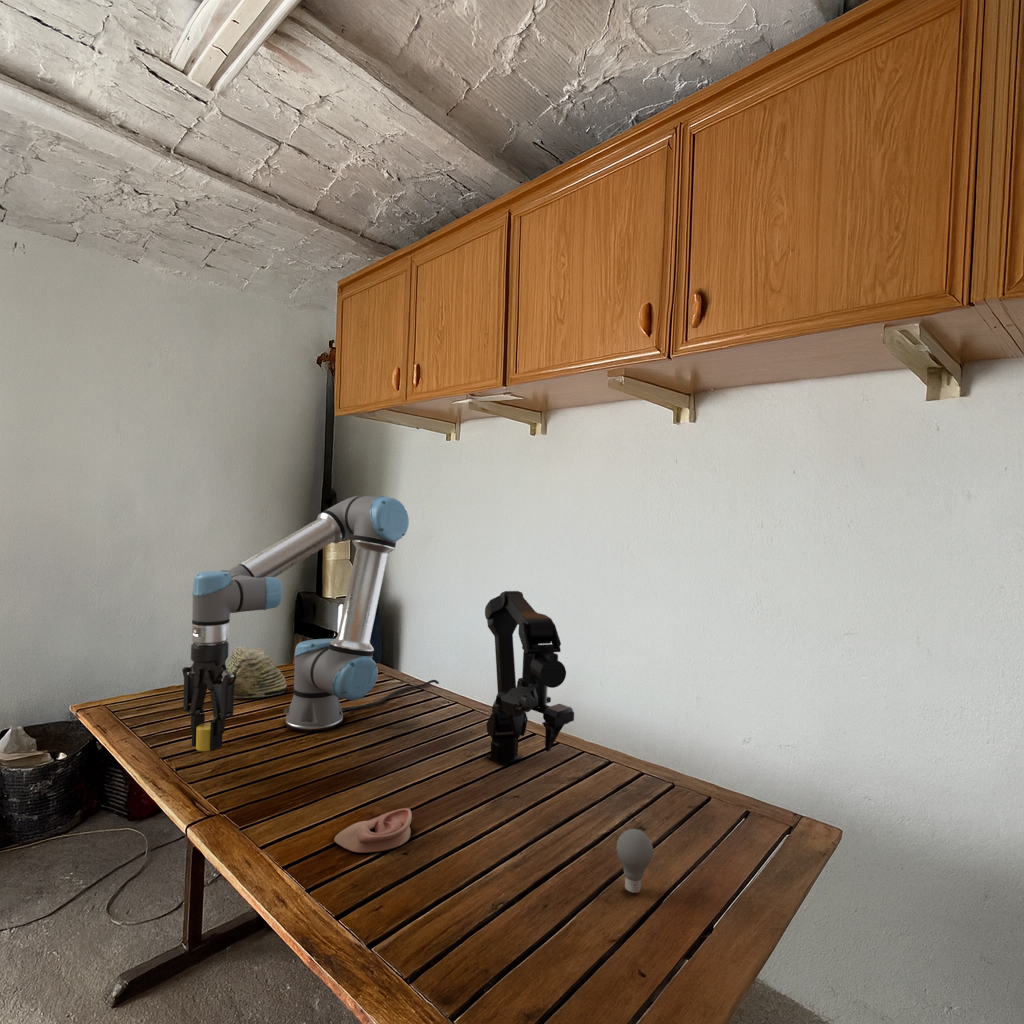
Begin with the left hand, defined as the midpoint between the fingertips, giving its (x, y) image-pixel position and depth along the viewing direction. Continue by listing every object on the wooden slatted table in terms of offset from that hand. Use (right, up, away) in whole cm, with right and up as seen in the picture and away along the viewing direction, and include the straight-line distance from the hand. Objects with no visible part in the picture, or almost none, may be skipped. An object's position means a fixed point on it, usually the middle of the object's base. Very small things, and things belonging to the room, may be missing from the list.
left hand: (206, 746), depth 140 cm
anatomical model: (+42, -9, -22) cm, 48 cm away
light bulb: (+88, -11, -35) cm, 95 cm away
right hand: (+72, 0, 0) cm, 72 cm away
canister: (0, 0, 0) cm, 0 cm away
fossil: (-13, -5, +58) cm, 59 cm away
